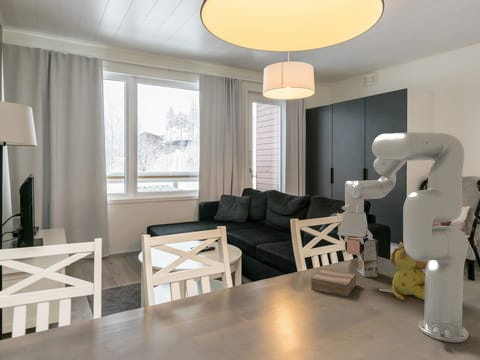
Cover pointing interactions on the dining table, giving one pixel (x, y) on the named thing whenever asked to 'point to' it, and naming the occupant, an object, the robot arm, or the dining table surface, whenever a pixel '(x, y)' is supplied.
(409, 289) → the giraffe plush
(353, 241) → the terracotta block
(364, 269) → the coffee box
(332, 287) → the walnut base
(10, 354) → the dining table surface
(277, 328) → the dining table surface
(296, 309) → the dining table surface
